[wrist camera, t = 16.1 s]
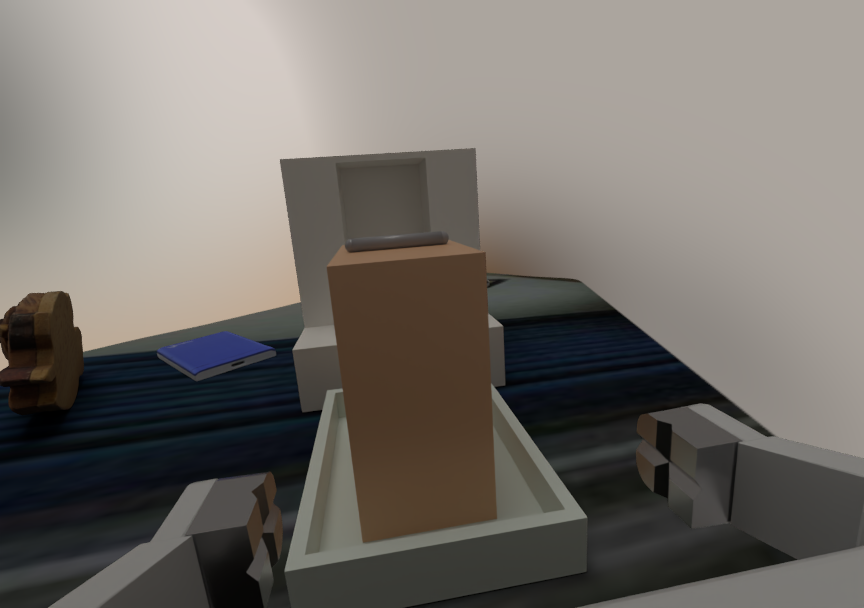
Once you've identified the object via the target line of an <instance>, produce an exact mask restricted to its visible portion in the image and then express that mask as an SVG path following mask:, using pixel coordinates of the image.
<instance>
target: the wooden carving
mask: <svg viewBox="0 0 864 608" xmlns="http://www.w3.org/2000/svg"><path fill="white" fill-rule="evenodd" d="M0 343H1V347H2V352H3V354H4V355H5V357H6V359H7V360H8V361H9V366H8V367H7V368H5V369H3V370H2V371H1V372H0V386H3V387H8V386H10V388H11V389H10V393H9V407H10V408H11V410H12V411H13V412H15V413H17V414H21V415H27V414H33V413H39V412H44V411H58V410H66V409H69V408H71V407H72V405H73V403H74V401H75V399H76V395H77V391H78V385H79V376H81V375H82V374H83V370H84V363H83V349H82V336H81V331H80V329H79V328H78V327H74V325H73V309H72V304H71V299H70V296H69V294H68V293H64V292H62V291H57V292H47V293H30V294H28V295H27V296H26V297H25V298H24V299H23V300H22V301H21V302H19V304H18V306H13V307H12V308H10V309H9V310H8V311H7V312H6V313H5V315H4V319H0Z"/></svg>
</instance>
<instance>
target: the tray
mask: <svg viewBox="0 0 864 608" xmlns="http://www.w3.org/2000/svg"><path fill="white" fill-rule="evenodd" d="M491 391H492V414H493V437H494V460H495V483H496V506H497V519H493V520H487V521H482V522H476V523H470V524H465V525H459V526H454V527H448V528H443V529H437V530H431V531H426V532H420V533H415V534H409V535H403V536H398V537H392V538H387V539H381V540H375V541H370V542H364V543H363V541H362V534H361V526H360V518H359V511H358V503H357V495H356V488H355V480H354V473H353V465H352V457H351V450H350V442H349V434H348V427H347V419H346V412H345V404H344V396H343V389H334V390H327V393H326V398H325V402H324V406H323V410H322V415H321V419H320V423H319V427H318V432H317V436H316V440H315V444H314V449H313V453H312V457H311V461H310V466H309V470H308V474H307V478H306V483H305V487H304V491H303V495H302V500H301V504H300V508H299V512H298V517H297V521H296V525H295V529H294V534H293V538H292V542H291V546H290V551H289V555H288V559H287V563H286V567H285V577H286V583H287V588H288V593H289V599H290V604H291V608H405V607H410V606H415V605H420V604H425V603H430V602H435V601H440V600H445V599H450V598H456V597H461V596H466V595H471V594H476V593H481V592H486V591H491V590H496V589H501V588H507V587H512V586H517V585H522V584H527V583H532V582H537V581H542V580H547V579H552V578H557V577H563V576H568V575H573V574H578V573H583V572H587V516H586V515H585V514H584V512H583V511H582V509H581V508H580V507H579V505H578V504H577V502H576V501H575V500H574V498H573V497H572V495H571V494H570V493H569V491H568V490H567V488H566V487H565V486H564V484H563V483H562V481H561V480H560V479H559V477H558V476H557V474H556V473H555V472H554V470H553V469H552V467H551V466H550V465H549V463H548V462H547V460H546V459H545V458H544V456H543V455H542V453H541V452H540V451H539V449H538V448H537V446H536V445H535V444H534V442H533V441H532V439H531V438H530V437H529V435H528V434H527V432H526V431H525V430H524V428H523V427H522V425H521V424H520V423H519V421H518V420H517V418H516V417H515V415H514V414H513V413H512V411H511V410H510V408H509V407H508V406H507V404H506V403H505V401H504V400H503V399H502V397H501V396H500V394H499V393H498V392H497V390H496V389H495V387H494V386H493V385H492V383H491Z"/></svg>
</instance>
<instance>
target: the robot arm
mask: <svg viewBox="0 0 864 608" xmlns="http://www.w3.org/2000/svg"><path fill="white" fill-rule="evenodd" d="M637 433H638V434H639V436H640V437H641V438H642V442H641V443H640V445H639V446H638V448H637V450H636V464H637V467H638V470H639V473H640V476H641V477H642V479H643V481H644V482H645V484H646V485H647V486H648V487H649V488H650V489H651V490H652V491H653V492H654V493H656V494H659V495H661V496H663V497H666V498H667V499H668V507H669V508H670V509H671V510H672V511H673V512H674V513H675V514H676V515H677V516H678V517H679V518H681V519H682V520H683V521H684V522H685V523H686V524H687V525H688V526H689V527H690V528H691V529H695V528H701V527H707V526H713V525H720V524H726V523H731V524H730V525H732V526H734V527H736V528H738V529H740V530H741V531H743V532H745V533H747V534H749V535H751V536H753V537H755V538H757V539H759V540H761V541H763V542H765V543H767V544H769V545H771V546H773V547H775V548H777V549H779V550H780V551H782V552H784V553H786V554H788V555H790V556H792V557H794V558H796V559H798V560H796V561H791V562H787V563H782V564H777V565H773V566H768V567H763V568H759V569H754V570H749V571H745V572H740V573H735V574H731V575H726V576H721V577H717V578H712V579H707V580H703V581H698V582H693V583H689V584H684V585H679V586H675V587H670V588H665V589H661V590H656V591H651V592H647V593H642V594H637V595H633V596H628V597H623V598H619V599H614V600H610V601H605V602H600V603H596V604H591V605H587V606H582V607H577V608H864V458H860V457H856V456H852V455H848V454H844V453H840V452H836V451H832V450H828V449H823V448H819V447H815V446H811V445H807V444H803V443H799V442H794V441H790V440H787V439H783V438H778V437H774V436H773V437H766V436H764V435H762V434H760V433H759V432H757V431H755V430H753V429H751V428H750V427H748V426H746V425H744V424H742V423H741V422H739V421H737V420H735V419H733V418H732V417H730V416H728V415H726V414H724V413H723V412H721V411H719V410H717V409H715V408H714V407H712V406H710V405H707V404H696V405H691V406H686V407H681V408H676V409H671V410H665V411H660V412H654V413H649V414H644V415H640V417H639V420H638V422H637ZM275 494H276V486H275V481H274V476H273V475H272V474H271V472H265V473H257V474H250V475H243V476H235V477H228V478H220V479H212V480H206V481H200V482H195V483H192V484H190V485H188V486H187V488H186V489H185V491H184V492H183V494H182V495H181V497H180V498H179V500H178V501H177V503H176V504H175V506H174V507H173V509H172V510H171V512H170V513H169V515H168V516H167V518H166V519H165V521H164V522H163V524H162V525H161V527H160V528H159V530H158V531H157V533H156V534H155V536H154V537H153V539H152V540H151V542H150V543H144V544H140V545H139V546H137V547H136V548H134V549H133V550H132V551H130V552H129V553H127V554H126V555H124V556H123V557H121V558H120V559H118V560H117V561H115V562H114V563H113V564H111V565H110V566H108V567H107V568H105V569H104V570H102V571H101V572H99V573H98V574H97V575H95V576H94V577H92V578H91V579H89V580H88V581H86V582H85V583H83V584H82V585H81V586H79V587H78V588H76V589H75V590H73V591H72V592H70V593H69V594H67V595H66V596H64V597H63V598H62V599H60V600H59V601H57V602H56V603H54V604H53V605H51V606H50V607H48V608H267V604H268V600H269V596H270V592H271V589H272V585H273V581H274V580H273V575H272V570H271V568H272V567H273V566H274V565H275V564H276V563H277V562H278V561H279V557H280V553H281V549H282V536H283V528H282V517H281V512H280V509H279V508H278V507H277V506H276V505H274V504H273V500H274V497H275Z"/></svg>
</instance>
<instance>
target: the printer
mask: <svg viewBox="0 0 864 608" xmlns="http://www.w3.org/2000/svg"><path fill="white" fill-rule="evenodd" d="M280 164H281V171H282V178H283V184H284V191H285V198H286V205H287V212H288V218H289V225H290V232H291V239H292V245H293V252H294V259H295V266H296V271H297V278H298V286H299V293H300V299H301V306H302V313H303V320H304V326H305V328H304V330H303V332H302V334H301V336H300V337H299V339H298V341H297V343H296V345H295V346H294V348H293V357H294V363H295V369H296V376H297V382H298V388H299V395H300V401H301V408H302V412H309V411H316V410H323V406H324V402H325V398H326V393H327V390H334V389H342V381H341V373H340V366H339V358H338V351H337V343H336V335H335V328H334V320H333V312H332V305H331V297H330V290H329V282H328V274H327V265H328V264H329V263H330V261H331V260H332V258H333V257H334V256H335V254H336V253H337V252H338V250H339V249H340V248H341V246H342V245H345V243H346V241H347V240H348V239H352V238H364V237H376V236H388V235H400V234H412V233H424V232H436V231H444V232H446V233H447V234H448V236H449V240H451V241H454V242H457V243H460V244H463V245H466V246H469V247H471V248H474V249H477V250H480V238H479V215H478V193H477V171H476V151H475V148H471V149H454V150H437V151H421V152H420V151H419V152H402V153H385V154H368V155H351V156H350V155H349V156H333V157H315V158H298V159H280ZM488 323H489V346H490V369H491V383H492V385H493V386H494V387H497V386H505V364H504V335H503V326H502V325H501V324H500V323H499V322H498V321H497V320H495V319H494V318H493V317H492V316H491V315H490V314H488Z"/></svg>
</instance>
